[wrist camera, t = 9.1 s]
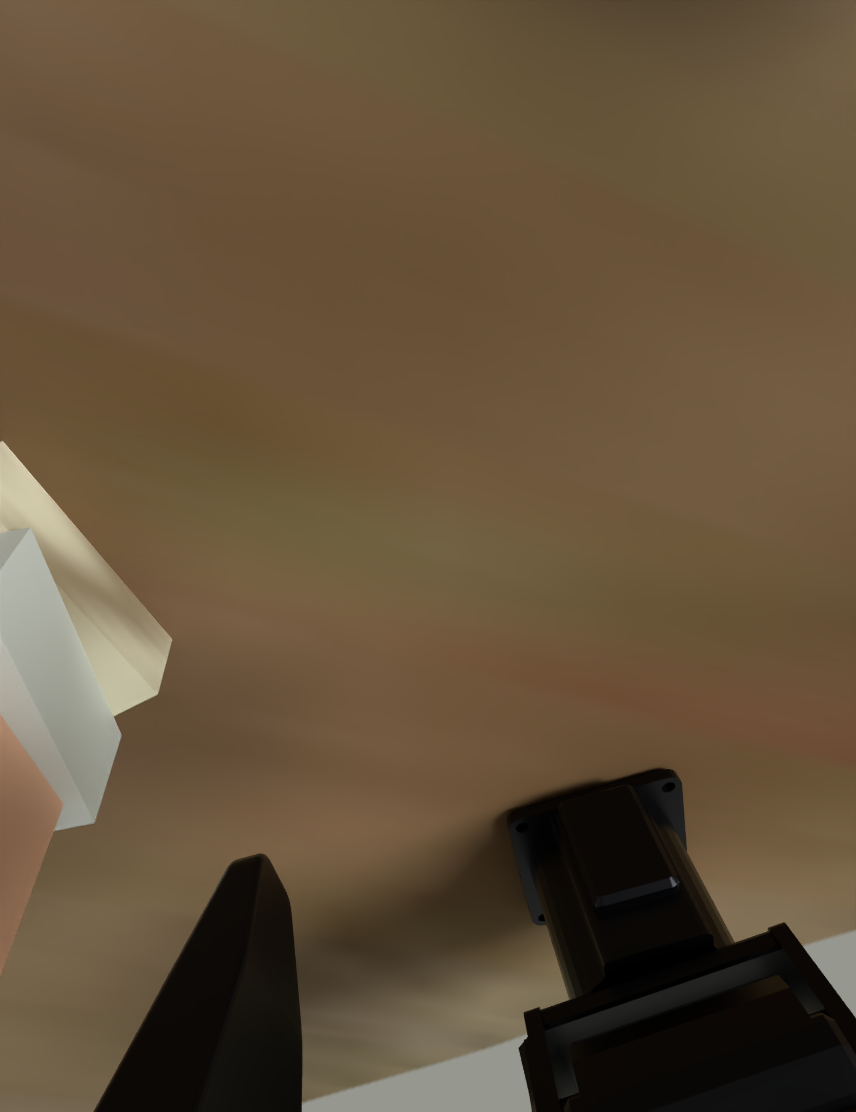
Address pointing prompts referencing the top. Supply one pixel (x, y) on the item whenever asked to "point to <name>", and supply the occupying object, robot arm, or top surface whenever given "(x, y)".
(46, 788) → the cube
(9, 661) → the tower top
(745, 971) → the robot arm
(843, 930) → the top surface
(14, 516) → the tower base
